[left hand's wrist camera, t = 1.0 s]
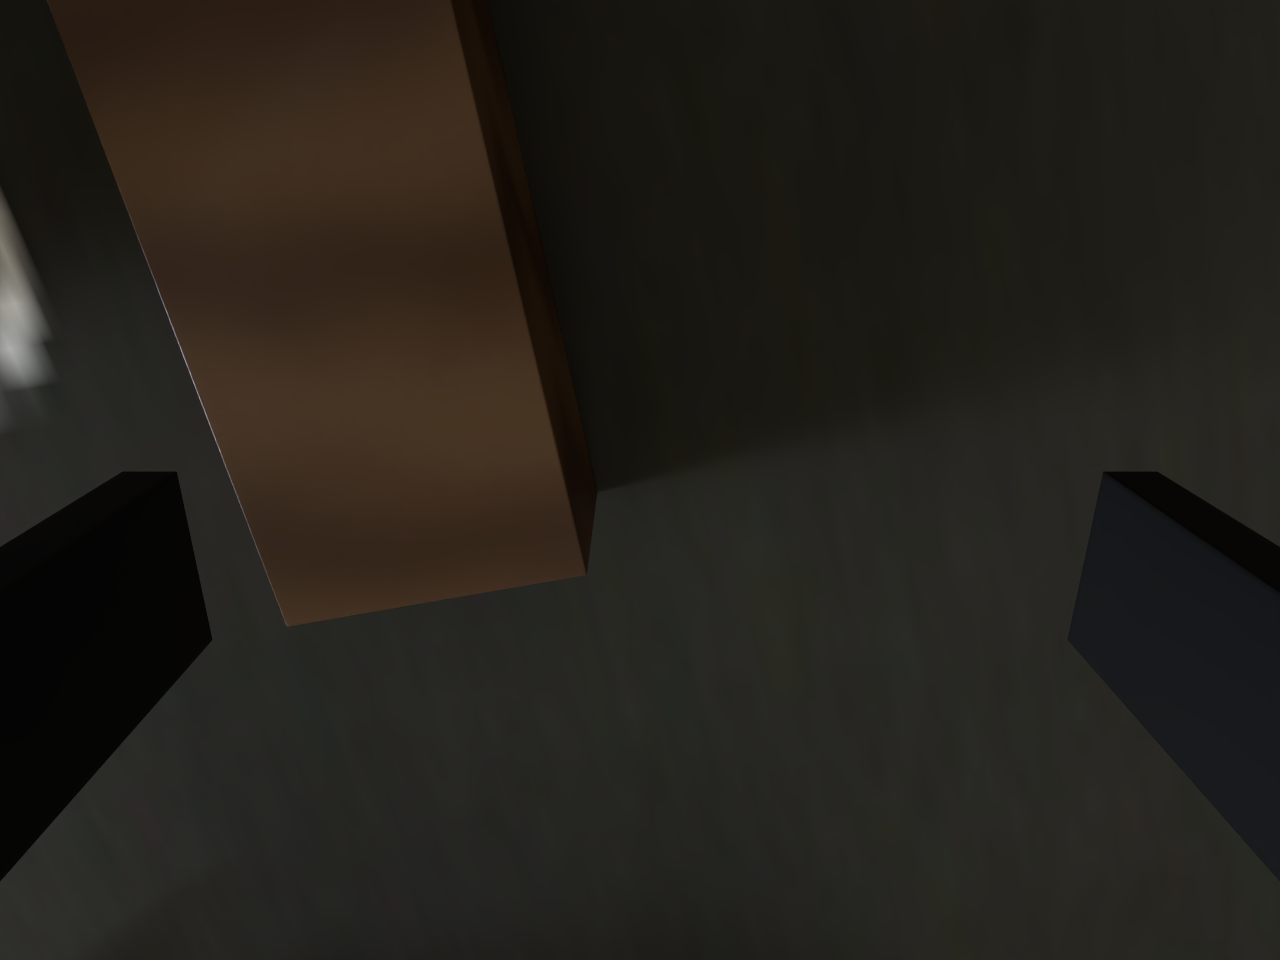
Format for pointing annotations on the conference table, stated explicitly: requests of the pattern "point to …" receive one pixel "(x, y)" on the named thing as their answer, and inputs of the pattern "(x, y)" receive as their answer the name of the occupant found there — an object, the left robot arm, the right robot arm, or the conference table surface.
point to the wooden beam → (350, 286)
